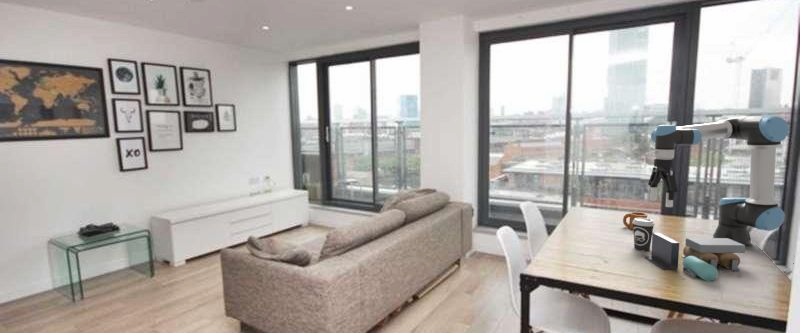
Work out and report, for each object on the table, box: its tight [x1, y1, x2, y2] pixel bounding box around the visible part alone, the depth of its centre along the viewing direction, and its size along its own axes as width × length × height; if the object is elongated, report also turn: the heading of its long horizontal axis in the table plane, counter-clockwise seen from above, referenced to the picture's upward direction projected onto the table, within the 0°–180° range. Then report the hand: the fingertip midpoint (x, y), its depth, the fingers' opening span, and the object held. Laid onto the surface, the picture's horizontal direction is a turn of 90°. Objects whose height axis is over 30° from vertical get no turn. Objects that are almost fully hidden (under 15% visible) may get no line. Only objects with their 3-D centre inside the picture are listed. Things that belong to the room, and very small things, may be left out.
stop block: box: [643, 232, 680, 271], centre depth 176 cm, size 6×15×12 cm, turn 175°
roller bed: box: [681, 255, 741, 279], centre depth 171 cm, size 23×25×5 cm
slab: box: [685, 237, 746, 254], centre depth 174 cm, size 18×10×4 cm, turn 85°
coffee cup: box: [632, 217, 656, 252], centre depth 196 cm, size 10×10×15 cm
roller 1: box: [682, 245, 719, 266], centre depth 175 cm, size 14×7×7 cm, turn 175°
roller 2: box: [682, 256, 719, 282], centre depth 163 cm, size 12×6×6 cm, turn 175°
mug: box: [622, 211, 648, 231], centre depth 232 cm, size 9×12×9 cm
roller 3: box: [713, 253, 741, 269], centre depth 174 cm, size 14×7×7 cm, turn 175°
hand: (660, 203), depth 184 cm, fingers open, 13 cm apart
